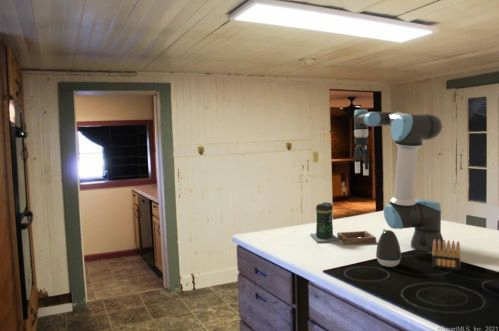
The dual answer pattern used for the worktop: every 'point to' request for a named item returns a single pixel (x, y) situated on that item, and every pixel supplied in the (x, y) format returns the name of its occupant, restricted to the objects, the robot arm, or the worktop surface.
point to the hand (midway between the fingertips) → (361, 174)
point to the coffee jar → (324, 220)
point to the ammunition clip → (446, 255)
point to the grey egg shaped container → (388, 249)
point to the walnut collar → (356, 237)
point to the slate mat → (325, 239)
